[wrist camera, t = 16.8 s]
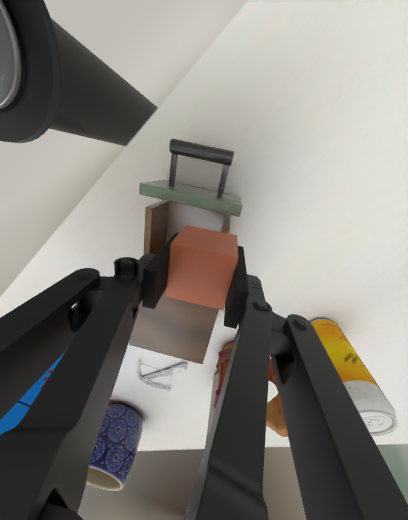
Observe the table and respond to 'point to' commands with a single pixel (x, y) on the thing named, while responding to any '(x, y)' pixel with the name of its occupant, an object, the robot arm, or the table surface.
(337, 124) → the table surface
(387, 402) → the beer can
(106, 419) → the planter
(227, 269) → the block
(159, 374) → the crossbow
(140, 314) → the cabinet
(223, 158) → the drawer
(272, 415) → the mug
